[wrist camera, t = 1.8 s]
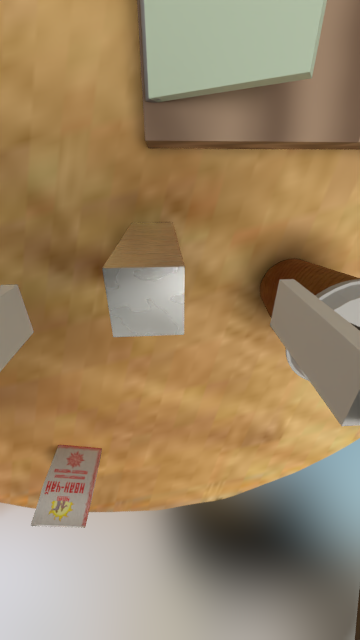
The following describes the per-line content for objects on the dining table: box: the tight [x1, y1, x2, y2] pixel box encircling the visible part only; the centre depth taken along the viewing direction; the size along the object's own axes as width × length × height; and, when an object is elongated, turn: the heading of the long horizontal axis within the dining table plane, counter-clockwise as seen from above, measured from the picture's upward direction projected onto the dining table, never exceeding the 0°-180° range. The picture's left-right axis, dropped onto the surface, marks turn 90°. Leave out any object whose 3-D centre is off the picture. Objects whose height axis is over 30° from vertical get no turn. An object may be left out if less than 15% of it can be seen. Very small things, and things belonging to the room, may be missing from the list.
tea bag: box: [31, 445, 102, 528], centre depth 37 cm, size 4×7×10 cm, turn 76°
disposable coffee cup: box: [260, 259, 360, 381], centre depth 23 cm, size 10×10×12 cm
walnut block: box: [137, 0, 360, 149], centre depth 17 cm, size 24×12×5 cm, turn 90°
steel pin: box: [102, 222, 185, 337], centre depth 19 cm, size 4×4×14 cm
